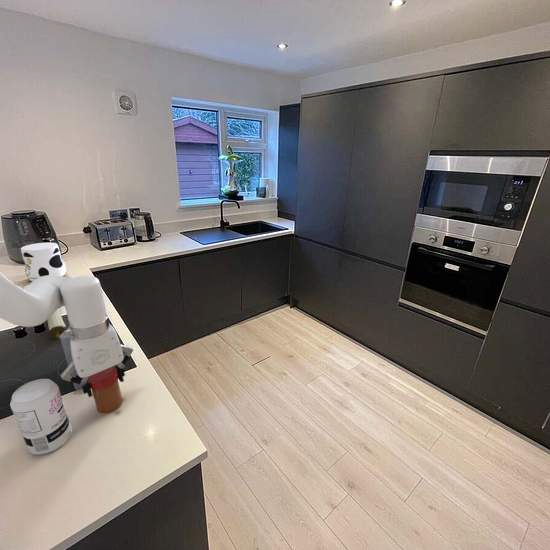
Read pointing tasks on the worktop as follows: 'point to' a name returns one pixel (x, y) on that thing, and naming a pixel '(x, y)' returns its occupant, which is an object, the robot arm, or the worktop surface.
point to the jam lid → (103, 378)
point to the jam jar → (108, 398)
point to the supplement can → (41, 415)
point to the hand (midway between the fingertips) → (105, 385)
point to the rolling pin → (56, 325)
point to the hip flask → (69, 355)
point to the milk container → (42, 260)
